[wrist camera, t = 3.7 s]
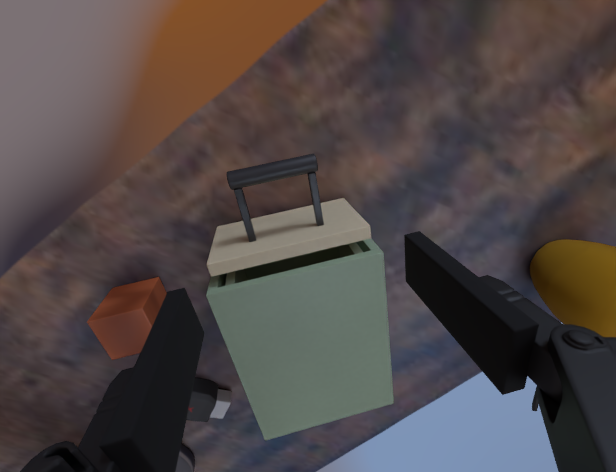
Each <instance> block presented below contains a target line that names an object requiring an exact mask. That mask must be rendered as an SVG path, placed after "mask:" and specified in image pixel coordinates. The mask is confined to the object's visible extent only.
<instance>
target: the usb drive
mask: <svg viewBox="0 0 616 472" xmlns="http://www.w3.org/2000/svg"><path fill="white" fill-rule="evenodd" d="M231 395H232V391H227V390H221V389H218V385H217V384H216V383H214V382H212V381H210V380H205V379H199V378H195V380H194V385H193V390H192V394H191V399H190V404H189V409H188V414H187V418H186V420H191V421H201V422H207V421H208V419H209V417H213V418H220V419H223V417H224V415H225V413H226V411H227V409H228V408H229V406H230V404H231Z"/></svg>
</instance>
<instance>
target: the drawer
mask: <svg viewBox="0 0 616 472" xmlns="http://www.w3.org/2000/svg"><path fill="white" fill-rule="evenodd" d="M317 170H318V165H317V160H316V156H315V154H309V155H305V156H300V157H295V158H290V159H286V160H281V161H276V162H272V163H267V164H262V165H258V166H253V167H248V168H243V169H239V170H234V171H229V172H227V180H228V183H229V186H230V188H231V189H232V190H233V189H234V192H235V195H236V199H237V202H238V205H239V209H240V212H241V216H242V219H243V221H240V222H235V223H231V224H226V225H222V226H218V227H217V229H216V233H215V236H214V240H213V243H212V247H211V250H210V254H209V258H208V261H207V268H208V270H209V273H210V275H211V277H212V276H217V275H221V274H225V273H227V277H226V284H225V286H227V285H231V284H235V283H239V282H243V281H247V280H251V279H256V278H260V277H264V276H268V275H272V274H276V273H280V272H284V271H288V270H292V269H297V268H301V267H305V266H309V265H313V264H317V263H321V262H325V261H329V260H333V259H338V258H342V257H346V256H350V255H354V254H358V253H362V252H363V251H362V250H361V248H360V247H359V246H358V244H357V243H356V242H358V241H362V240H366V239H371V230H370V225H369V224H368V223H367V222H366V221H365V220H364V219H363V218H362V217H361V216H360V215H359V214H358V213H357V212H356V211H355V209H354V208H353V207H352V206H351V205H350V204H349V203H348V202H347V201H346V200H345V199H344V198H341V199H336V200H332V201H328V202H323V203H320V197H319V191H318V185H317V179H316V173H315V172H316V171H317ZM302 174H308V180H309V185H310V191H311V197H312V202H313V205H310V206H306V207H301V208H297V209H292V210H288V211H284V212H279V213H275V214H270V215H266V216H262V217H257V218H253V219H251V218H250V214H249V211H248V207H247V204H246V200H245V197H244V193H243V190H242V188H243V187H247V186H252V185H256V184H261V183H266V182H270V181H275V180H279V179H284V178H288V177H293V176H298V175H302Z"/></svg>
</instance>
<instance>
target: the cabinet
mask: <svg viewBox="0 0 616 472" xmlns="http://www.w3.org/2000/svg"><path fill="white" fill-rule="evenodd" d="M356 243H357V244H358V246H359V247H360V248H361V250H362V251H363V252H362V253H358V254H354V255H350V256H346V257H342V258H338V259H333V260H329V261H325V262H321V263H317V264H313V265H309V266H305V267H301V268H297V269H292V270H288V271H284V272H280V273H276V274H272V275H268V276H264V277H260V278H256V279H251V280H247V281H243V282H239V283H235V284H231V285H227V286H225V284H226V277H227V273H225V274H221V275H217V276H212V277H211V278H210V282H209V286H208V290H207V294H206V297H207V299H208V302H209V304H210V307H211V309H212V312H213V314H214V316H215V319H216V321H217V324H218V326H219V329H220V331H221V334H222V336H223V338H224V341H225V343H226V346H227V348H228V351H229V353H230V356H231V358H232V361H233V363H234V365H235V368H236V370H237V373H238V375H239V378H240V380H241V383H242V385H243V387H244V390H245V392H246V395H247V397H248V400H249V402H250V405H251V407H252V410H253V412H254V414H255V417H256V419H257V422H258V424H259V427H260V429H261V432H262V434H263V437H264V439H265V440H269V439H272V438H276V437H279V436H283V435H286V434H290V433H293V432H297V431H300V430H304V429H307V428H311V427H314V426H317V425H321V424H324V423H328V422H331V421H335V420H338V419H342V418H345V417H349V416H352V415H355V414H359V413H362V412H366V411H369V410H373V409H376V408H380V407H383V406H387V405H390V404H393V403H394V399H393V385H392V370H391V356H390V342H389V327H388V313H387V298H386V284H385V270H384V255H383V252H382V250H381V249H380V248H379V247H378V246H377V245H376V244H375V242H374V241H373V240H372V239H366V240H362V241H358V242H356Z"/></svg>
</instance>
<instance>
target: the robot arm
mask: <svg viewBox="0 0 616 472" xmlns="http://www.w3.org/2000/svg"><path fill="white" fill-rule="evenodd" d="M404 236H405V268H406V282H407V283H408V284H409V286H410V287H411V288H412V289H413V290H414V292H415V293H416V294H417V295H418V296H419V297H420V299H421V300H422V301H423V302H424V303H425V304H426V306H427V307H428V308H429V309H430V310H431V311H432V313H433V314H434V315H435V316H436V317H437V318H438V320H439V321H440V322H441V323H442V324H443V326H444V327H445V328H446V329H447V330H448V331H449V333H450V334H451V335H452V336H453V337H454V338H455V340H456V341H457V342H458V343H459V344H460V345H461V347H462V348H463V349H464V350H465V351H466V352H467V354H468V355H469V356H470V357H471V358H472V360H473V361H474V362H475V363H476V364H477V365H478V367H479V368H480V369H481V370H482V371H483V372H484V373H485V375H486V376H487V377H488V378H489V379H490V381H491V382H492V383H493V384H494V385H495V386H496V388H497V389H498V390H499V391H500V392H501V394H507V393H510V392H514V391H517V390H521V389H524V387H525V383H526V379H527V376H529V378H530V379H532V380H533V382H534V383H535V384H536V385H537V387H536V391H535V395H534V399H533V403H532V410H533V411H537V408H538V404H539V406H540V409H541V413H542V416H543V420H544V423H545V427H546V430H547V433H548V437H549V440H550V444H551V447H552V450H553V454H554V457H555V461H556V464H557V468H558V471H559V472H616V337H603V336H601V335H599V334H598V333H596V332H595V331H592V330H590V329H587V328H585V327H582V326H577V325H572V324H561V323H560V322H559V321H557V320H556V319H555V318H553V317H552V316H550V315H549V314H548V313H546V312H545V311H543V310H542V309H541V308H539V307H538V306H536V305H535V304H534V303H532V302H531V301H529V300H528V299H527V298H524V297H523V295H521V294H520V293H518V292H517V291H514V289H513V288H511V287H510V286H509V285H507V284H506V283H504V282H503V281H501V280H499V279H496V278H494V277H491V276H489V275H486V276H482V277H477V276H476V275H475V274H474V273H472V272H471V271H470V270H468V269H467V268H466V267H465V266H463V265H462V264H461V263H459V262H458V261H457V260H456V259H454V258H453V257H452V256H450V255H449V254H448V253H447V252H445V251H444V250H443V249H441V248H440V247H439V246H438V245H436V244H435V243H434V242H432V241H431V240H430V239H429V238H427V237H426V236H425V235H423V234H422V233H421V232H420V231H419V232H415V233H410V234H406V235H404ZM203 337H204V331H203V329H202V326H201V324H200V322H199V319H198V317H197V315H196V313H195V310H194V308H193V306H192V304H191V301H190V299H189V297H188V294H187V292H186V290H185V288H182V289H177V290H173V291H169V292H167V294H166V297H165V299H164V301H163V303H162V306H161V308H160V310H159V312H158V315H157V317H156V319H155V321H154V324H153V326H152V328H151V330H150V332H149V335H148V337H147V339H146V341H145V344H144V346H143V348H142V350H141V353H140V355H139V357H138V359H137V362H136V364H135V366H134V367H133V368H130V369H126V370H122V371H121V372H120V373H119V374H118V376H117V377H116V378H115V379H114V380H113V381H112V383H111V384H110V385H109V387H108V389H107V391H106V393H105V395H104V397H103V402H101V403H100V405H99V407H98V409H97V411H96V412H97V413H96V414H95V415H94V417H93V419H92V421H91V423H90V425H89V427H88V429H87V431H86V433H85V435H84V437H83V439H82V441H81V443H80V445H79V447H77V446H76V445H75V444H74V443H72V442H68V441H64V442H60V443H56V444H54V445H52V446H50V447H48V448H46V449H45V450H43V451H42V452H40V453H39V454H38V455H37V456H35V457H34V458H33V459H31V460H30V461H29V463H28V464H27V465H26V466H25V467H24V468H23V469H22V470H21V471H20V472H194V467H195V460H194V456H193V455H192V453H191V452H190V450H189V449H188V448H187V447H185V446H184V445H182V444H181V442H182V438H183V433H184V428H185V423H186V418H187V414H188V409H189V404H190V399H191V394H192V390H193V385H194V380H195V375H196V370H197V365H198V361H199V356H200V351H201V346H202V341H203Z"/></svg>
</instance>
